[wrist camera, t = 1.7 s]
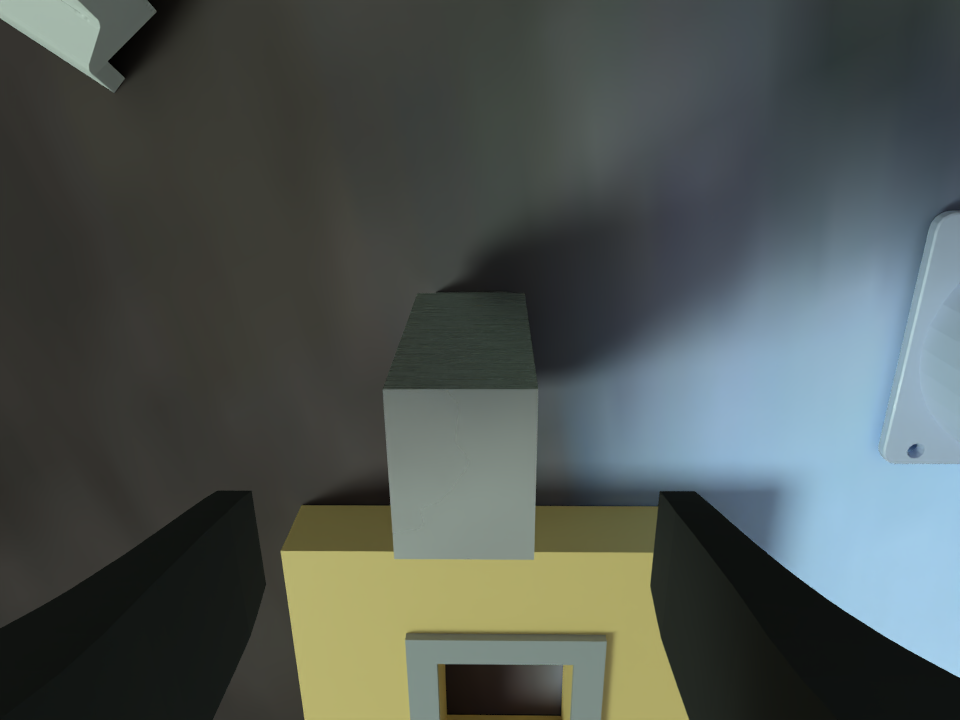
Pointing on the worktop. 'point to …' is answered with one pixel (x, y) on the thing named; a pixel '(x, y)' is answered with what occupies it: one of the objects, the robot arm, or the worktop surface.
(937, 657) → the worktop surface
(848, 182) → the worktop surface
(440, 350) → the grey rectangular block
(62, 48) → the pale green rounded block
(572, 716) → the bracket plate
